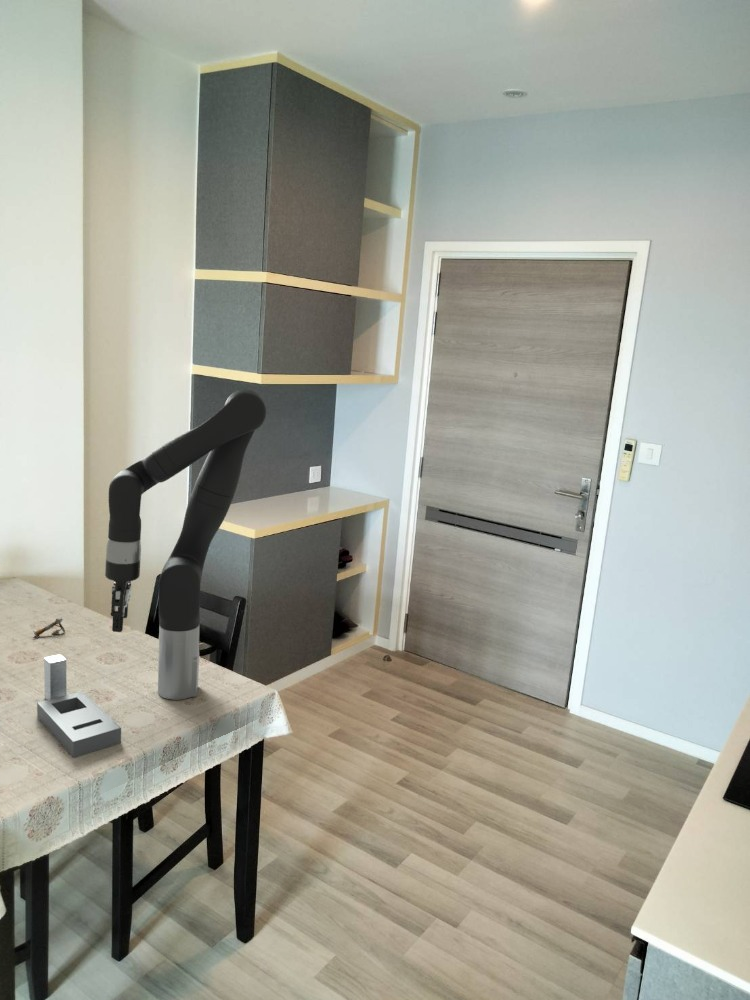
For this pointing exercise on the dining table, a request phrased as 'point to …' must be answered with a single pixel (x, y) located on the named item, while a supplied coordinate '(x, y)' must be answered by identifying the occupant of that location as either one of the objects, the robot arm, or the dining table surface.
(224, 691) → the dining table surface
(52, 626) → the brown lamp post
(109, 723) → the holder
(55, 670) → the grey square peg
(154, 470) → the robot arm
